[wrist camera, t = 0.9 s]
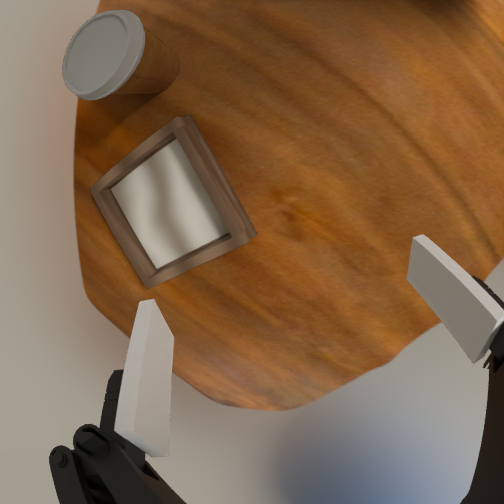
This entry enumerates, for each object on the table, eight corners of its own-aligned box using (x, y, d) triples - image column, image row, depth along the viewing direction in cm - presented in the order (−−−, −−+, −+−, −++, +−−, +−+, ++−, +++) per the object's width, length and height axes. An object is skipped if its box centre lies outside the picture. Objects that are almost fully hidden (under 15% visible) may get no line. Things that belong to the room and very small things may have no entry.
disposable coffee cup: (119, 59, 27) (55, 44, 16) (181, 25, 24) (126, -11, 14) (135, 118, 30) (67, 118, 19) (201, 86, 27) (145, 64, 17)
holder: (191, 115, 29) (177, 112, 26) (257, 233, 33) (251, 244, 30) (103, 183, 34) (87, 188, 31) (159, 280, 38) (147, 292, 35)
